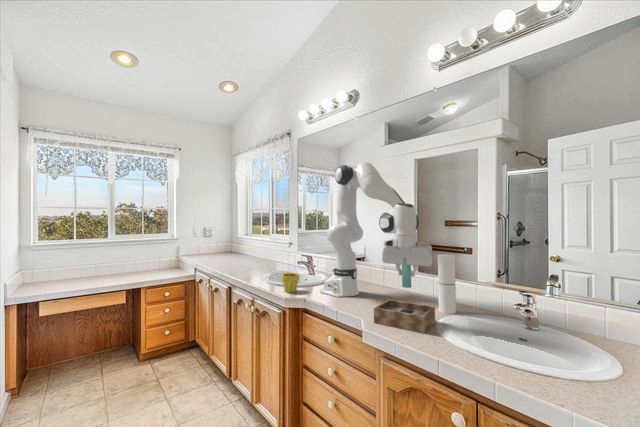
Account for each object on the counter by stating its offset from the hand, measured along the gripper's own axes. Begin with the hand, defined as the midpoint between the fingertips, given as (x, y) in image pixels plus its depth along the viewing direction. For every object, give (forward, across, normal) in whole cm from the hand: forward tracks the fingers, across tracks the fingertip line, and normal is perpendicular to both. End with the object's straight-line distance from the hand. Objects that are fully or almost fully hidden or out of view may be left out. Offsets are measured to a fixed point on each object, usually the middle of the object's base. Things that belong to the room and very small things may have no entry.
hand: (406, 275), depth 125 cm
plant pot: (+18, +73, -11) cm, 76 cm away
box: (+18, 0, +3) cm, 19 cm away
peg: (+5, 0, 0) cm, 5 cm away
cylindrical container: (+19, -11, -21) cm, 30 cm away
